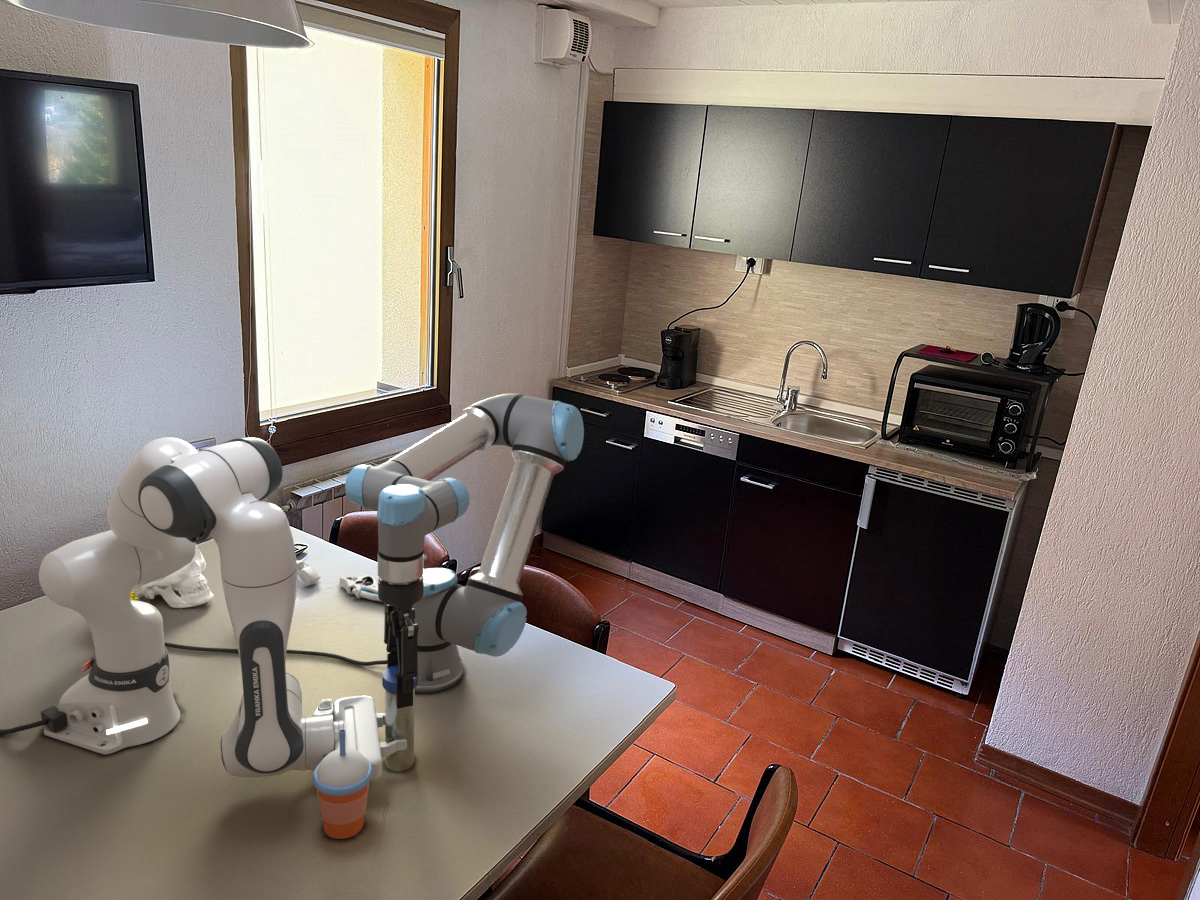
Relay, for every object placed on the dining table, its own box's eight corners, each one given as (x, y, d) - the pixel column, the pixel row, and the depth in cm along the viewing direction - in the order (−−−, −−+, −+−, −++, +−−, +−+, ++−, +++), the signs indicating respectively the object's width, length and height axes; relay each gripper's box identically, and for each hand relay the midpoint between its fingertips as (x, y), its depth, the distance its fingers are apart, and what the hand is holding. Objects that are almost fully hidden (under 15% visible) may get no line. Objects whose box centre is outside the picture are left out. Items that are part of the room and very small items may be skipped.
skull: (192, 617, 196) (189, 553, 192) (115, 598, 202) (111, 536, 198) (232, 595, 209) (230, 534, 205) (158, 577, 214) (155, 518, 210)
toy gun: (412, 588, 214) (383, 600, 205) (411, 597, 215) (383, 610, 206) (358, 568, 223) (329, 579, 214) (358, 577, 223) (328, 588, 215)
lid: (375, 688, 148) (375, 678, 147) (393, 671, 153) (393, 661, 153) (407, 697, 146) (407, 686, 145) (423, 678, 152) (424, 668, 151)
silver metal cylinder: (418, 766, 154) (419, 681, 149) (391, 775, 151) (392, 688, 146) (406, 750, 158) (407, 667, 153) (380, 759, 155) (380, 674, 150)
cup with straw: (356, 851, 133) (355, 754, 128) (303, 839, 135) (300, 742, 130) (382, 812, 142) (382, 719, 137) (331, 801, 143) (330, 709, 138)
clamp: (253, 565, 223) (254, 542, 221) (265, 560, 226) (266, 537, 224) (309, 593, 215) (310, 569, 213) (320, 588, 218) (321, 564, 216)
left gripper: (324, 764, 138) (411, 752, 143) (322, 693, 157) (399, 685, 161) (325, 796, 140) (410, 784, 144) (323, 722, 159) (399, 713, 163)
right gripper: (439, 597, 137) (436, 721, 144) (408, 551, 153) (407, 664, 160) (392, 604, 134) (391, 731, 141) (366, 556, 150) (366, 671, 157)
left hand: (404, 731), depth 153 cm, fingers closed on silver metal cylinder, 5 cm apart
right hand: (399, 695), depth 150 cm, fingers closed on lid, 6 cm apart
